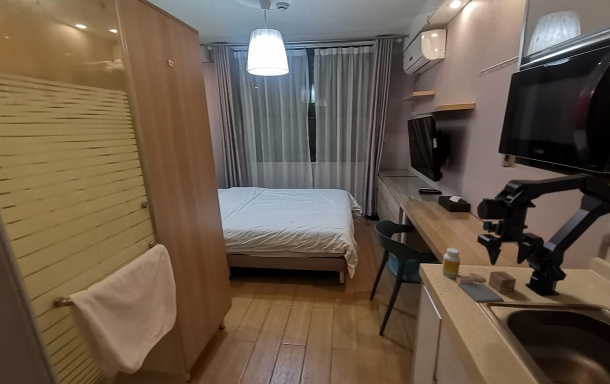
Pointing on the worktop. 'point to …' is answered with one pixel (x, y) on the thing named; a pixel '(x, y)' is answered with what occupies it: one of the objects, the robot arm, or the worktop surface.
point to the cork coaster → (476, 277)
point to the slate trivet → (480, 292)
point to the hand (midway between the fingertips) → (505, 264)
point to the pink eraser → (464, 280)
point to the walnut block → (502, 282)
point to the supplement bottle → (451, 263)
